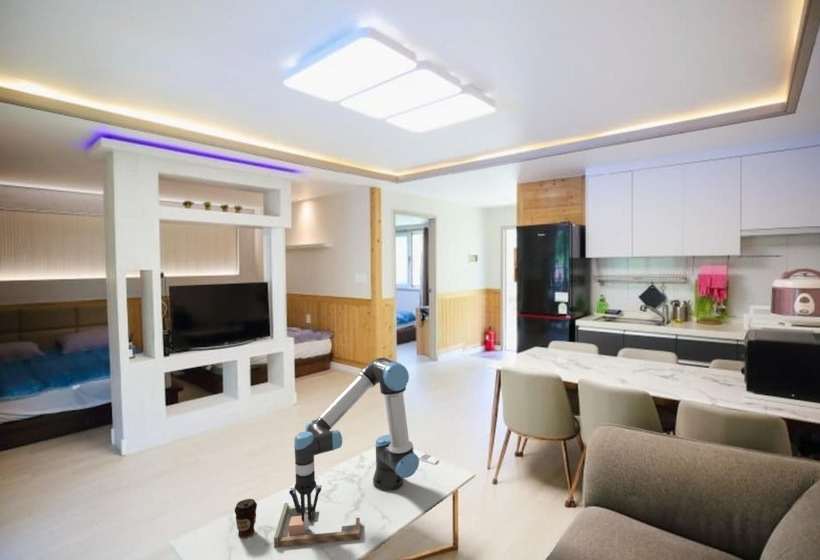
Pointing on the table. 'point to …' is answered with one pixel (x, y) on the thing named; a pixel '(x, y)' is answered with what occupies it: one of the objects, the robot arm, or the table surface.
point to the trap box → (344, 535)
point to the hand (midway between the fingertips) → (306, 527)
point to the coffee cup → (246, 517)
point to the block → (296, 526)
